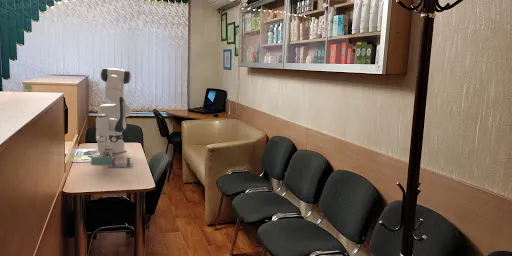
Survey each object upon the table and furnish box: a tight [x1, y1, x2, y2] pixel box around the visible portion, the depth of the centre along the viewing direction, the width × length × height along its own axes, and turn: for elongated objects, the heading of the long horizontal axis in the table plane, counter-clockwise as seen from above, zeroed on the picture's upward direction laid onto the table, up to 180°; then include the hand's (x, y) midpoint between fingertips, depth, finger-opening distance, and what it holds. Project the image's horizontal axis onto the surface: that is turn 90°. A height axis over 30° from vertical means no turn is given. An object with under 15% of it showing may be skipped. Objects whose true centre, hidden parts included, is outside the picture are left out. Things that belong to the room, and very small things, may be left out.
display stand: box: [108, 157, 134, 169], centre depth 294 cm, size 10×16×6 cm, turn 104°
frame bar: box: [90, 155, 113, 165], centre depth 299 cm, size 2×14×5 cm, turn 103°
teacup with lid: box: [103, 144, 117, 158], centre depth 311 cm, size 12×9×12 cm
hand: (102, 155), depth 298 cm, fingers open, 8 cm apart
